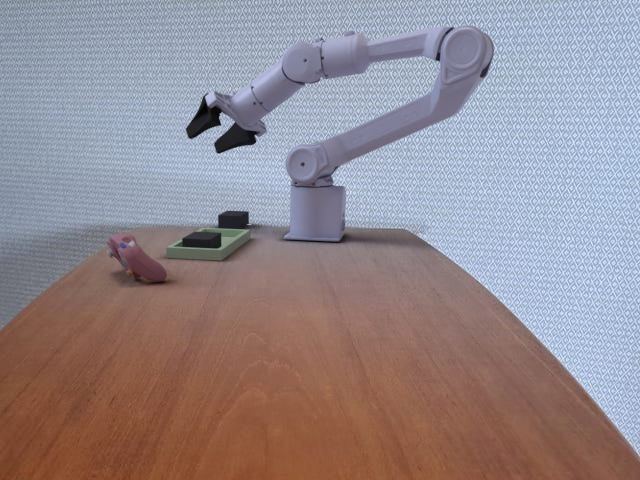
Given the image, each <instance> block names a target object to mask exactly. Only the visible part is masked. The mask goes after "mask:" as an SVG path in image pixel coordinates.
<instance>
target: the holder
mask: <svg viewBox="0 0 640 480" xmlns="http://www.w3.org/2000/svg"><path fill="white" fill-rule="evenodd" d="M194 232H217V233H221V244H222V246H221V247H220V248H218V249H212V248H191V247H182V238H181V239H179V240H177V241H175V242H173V243H171V244H169V245H168V246H166V247H165V251H166V259H182V260H199V261H200V260H202V261H217V262H218V261H223V260H224V259H225V258H227V257H228V256H230V255H231V254H232V253H234V252H235V251H236V250H238V249H239V248H240V247H242V246H243V245H244V244H246V243H248V242H249V241H251V230H250V229H243V228H242V229H229V228H218V227H217V228H215V227H201V228H199V229H197V230H196V231H194Z"/></svg>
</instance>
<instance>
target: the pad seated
mask: <svg viewBox="0 0 640 480" xmlns="http://www.w3.org/2000/svg"><path fill="white" fill-rule="evenodd" d="M181 239H182V247H191V248H212V249H218V248H220V247H221V246H222V244H221V233H217V232H195V231H193V232H192V233H189V234H187V235H186V236H184V237H182V238H181Z"/></svg>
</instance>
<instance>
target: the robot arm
mask: <svg viewBox="0 0 640 480" xmlns="http://www.w3.org/2000/svg"><path fill="white" fill-rule="evenodd" d="M494 56H495V46H494V41H493V40H492V38H491V37H490V35H488V34H487V33H486V32H485V31H483V30H482V29H481V28H479V27H478V26H476V25H473V24H462V25H458V26H456V27H454V26H452V25H451V26H448V25H445V26H433V27H427V28H423V29H418V30H413V31H409V32H404V33H403V32H402V33H399V34H394V35H391V36H385V37H381V38H376V39H372V40H369V38H367V37H366V36H365V35H364V34H363V33H355V31H354V30H351V29H350V30H346V31H344V32H343V36H337V37H332V38H326V39H324V38H323V37H321V36H319V37H315V38H314V42H313V44H311V43H310V42H308V41H305V40H299V41H297V42H295V43H293V44H291V45H290V46H288V47H287V48H286V50H285V51H284V53H283V55H282V58H280V59H279V60H278V61H277V62H275V63H274V64H271V66H269V67H268V68H266V69H265V70H264V71H263V72H262V73H260V74H259V75H258V76H257V77H255V78H254V79H253V80H252V81H250V82H249V83H248V84H246V85H245V86H244V87H243V88H242V89H240V90H239V91H238V92H235V91H231V92H230V93H229V94H226V93H222V92H218V91H216V90H215V89H213V90H211V91H209V92H207V93H205V94H204V95H203V96H202V98H201V101H200V105H199V107H198V109H197V112H196V113H195V114H194V116H193V118H192V119H191V121H190V122H189V124H188V125H187V126H186V128H185V133H186V135H187V138H188V139H189V140H192V139H195V138H197V137H198V136H200V135H202V134H203V133H204V132H206V131H208V130H210V129H213V128H215V127H216V128H217V127H219V126H222V123H221V119H220V117H221V114H222V113H223V114H224V115H226V116H227V117H229V118H230V119H231V120H232V121H234V122H233V124H232V125H230V128H228V129H227V130H226V131H225V132H224V133H223V134H222V135H220V136H219V137H218V138H217V139H216V140H215V141H214V142H213V145H214V150H215V153H216V154H219V155H220V154H222V153H226V152H227V151H230V150H233V149H235V148H240V147H246V146H254V145H255V144H257V138H261V137H263V136H264V135H265V134H266V133H268V129H267V127H266V123H265V121H263V120H262V119H263V118H265V117H266V116H267V115H269V114H270V113H271V112H272V111H274V110H275V109H277V108H278V107H280V106H281V105H282V104H283V103H285V102H286V101H288V100H289V99H290V98H292V97H293V96H294V94H296V93H297V92H298V91H300V90H301V89H302V88H304V87H305V86H306V84H308V85H312V84H317V83H318V82H320V81H321V80H322V79H324V80H331V79H336V78H342V77H348V76H354V75H355V76H356V75H362V74H365V72H366V71H367V70H368V69H369V68H370V66H371V65H372V64H373V63H380V62H389V61H396V60H397V61H398V60H405V59H411V58H412V59H413V58H419V57H425V58H427V59H430V60H432V61H436V62H439V71H438V72H437V76H436V79H435V81H434V84H433V87H432V90H431V91H429V92H428V93H426V94H423V95H421V96H420V97H417V98H415V99H413V100H410V101H408V102H406V103H404V104H402V105H400V106H398V107H396V108H395V107H394V108H392V109H391V110H388V111H387V112H384V113H382V114H380V115H378V116H375V117H373V118H372V119H369V120H367V121H365V122H362V123H360V124H358V125H356V126H354V127H352V128H350V129H347V130H346V131H343V132H341V133H339V134H336V135H334V136H331V137H328V138H325V139H322V140H320V141H315V142H312V143H300V144H296V145H295V146H293V147H292V148H291V149H290V150H289V152H288V153H287V155H286V157H285V171H286V173H287V175H288V176H289V178H290V179H291V180H290V196H289V197H290V201H289V231H288V232H287V233H286V234H285V235H284V236H283V239H284V240H292V241H293V240H294V241H317V242H335V243H336V242H337V243H338V242H340V241H341V240H342V238H343V236H344V235H345V230H346V205H347V204H346V203H347V202H346V201H347V188H346V186H345V185H334V183H335V181H334V179H333V175H334V174H335V173H336V171H337V170H338V169H339V168H340V167H342V166H344V165H347V164H349V163H350V162H352V161H353V160H356V159H359V158H360V157H363V156H365V155H367V154H370V153H373V152H374V151H376V150H379V149H381V148H383V147H385V146H388V145H391V144H392V143H395V142H398V141H400V140H402V139H404V138H406V137H409V136H411V135H413V134H415V133H418V132H420V131H422V130H425V129H428V128H429V127H431V126H435V125H437V124H439V123H441V122H444V121H446V120H449V119H450V118H452V117H453V118H454V116H456V115H458V114H459V113H460V112H461V110H462V109H463V108H464V106H465V105H466V104H467V102H468V101H469V99H470V98H471V97H472V96H473V94H474V93H475V91H476V89H478V87H479V85H480V84H481V83H482V82H483V81H484V80H485V79H486V78H487V76H488V75H489V71H490V68H491V65H492V62H493V59H494ZM321 78H322V79H321ZM256 137H257V138H256Z"/></svg>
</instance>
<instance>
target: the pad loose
mask: <svg viewBox="0 0 640 480" xmlns="http://www.w3.org/2000/svg"><path fill="white" fill-rule="evenodd" d="M249 224H250V211H249V210H225V211H223V212H221V213H220V214H218V215H217V228H219V229H243V228H245V227H246V226H247V225H249Z"/></svg>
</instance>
